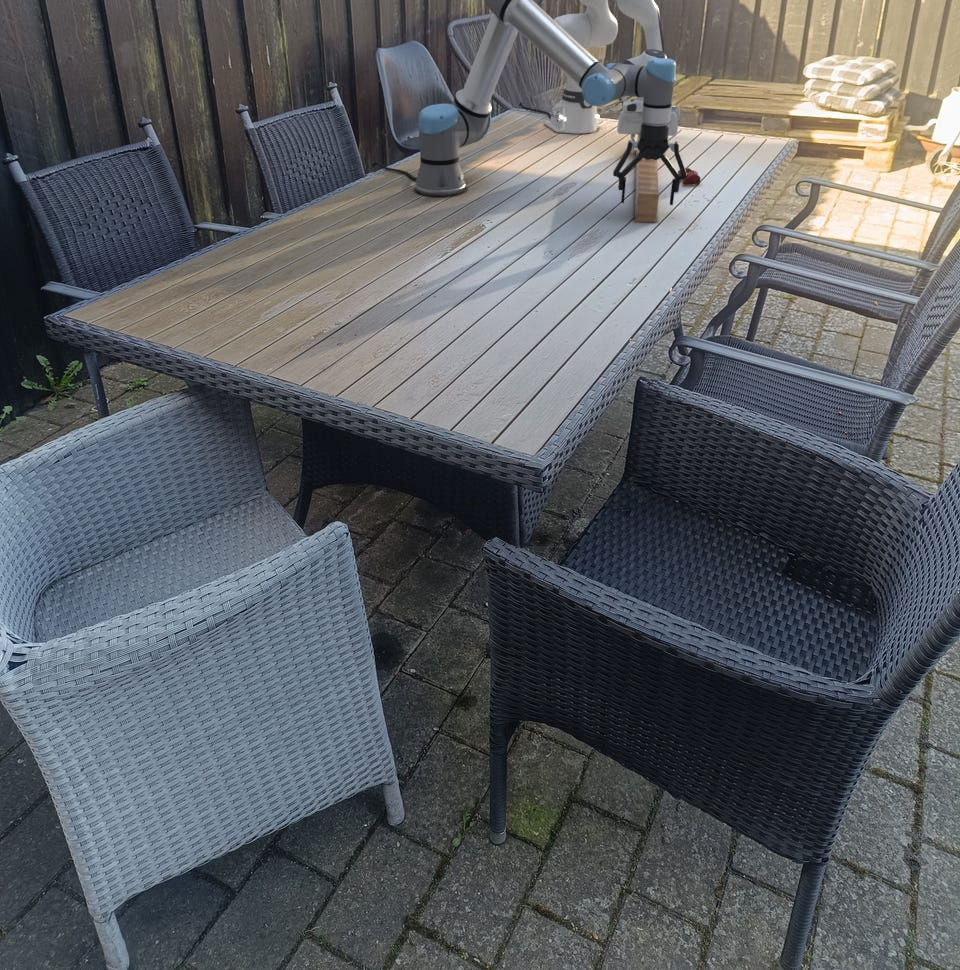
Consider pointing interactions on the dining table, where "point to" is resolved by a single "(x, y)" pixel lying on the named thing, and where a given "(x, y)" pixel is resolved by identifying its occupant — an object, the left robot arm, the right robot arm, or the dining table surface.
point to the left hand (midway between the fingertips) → (646, 202)
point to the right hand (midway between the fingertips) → (645, 148)
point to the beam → (646, 189)
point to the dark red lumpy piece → (690, 177)
